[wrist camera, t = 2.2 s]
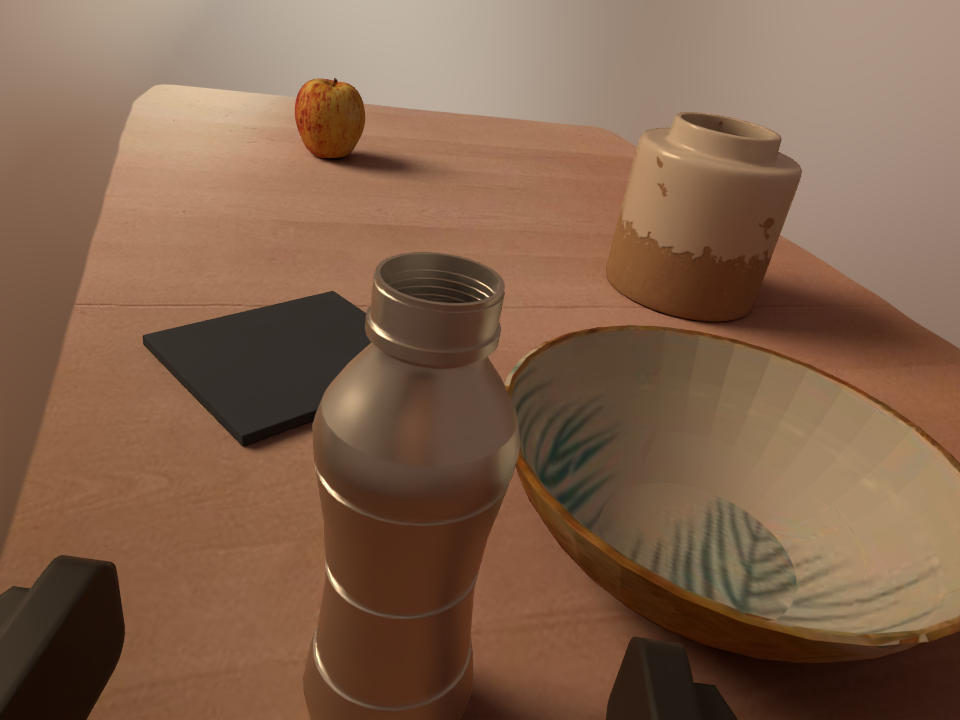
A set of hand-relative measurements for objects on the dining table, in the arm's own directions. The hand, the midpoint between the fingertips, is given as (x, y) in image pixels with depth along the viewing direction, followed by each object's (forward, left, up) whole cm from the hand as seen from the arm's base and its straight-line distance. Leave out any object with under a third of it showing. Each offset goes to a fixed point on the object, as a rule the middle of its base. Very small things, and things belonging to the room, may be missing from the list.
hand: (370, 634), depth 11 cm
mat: (+20, +34, -19) cm, 43 cm away
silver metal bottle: (+8, +8, -19) cm, 22 cm away
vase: (+61, +27, -19) cm, 69 cm away
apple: (+52, +77, -19) cm, 95 cm away
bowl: (+28, +5, -19) cm, 34 cm away
